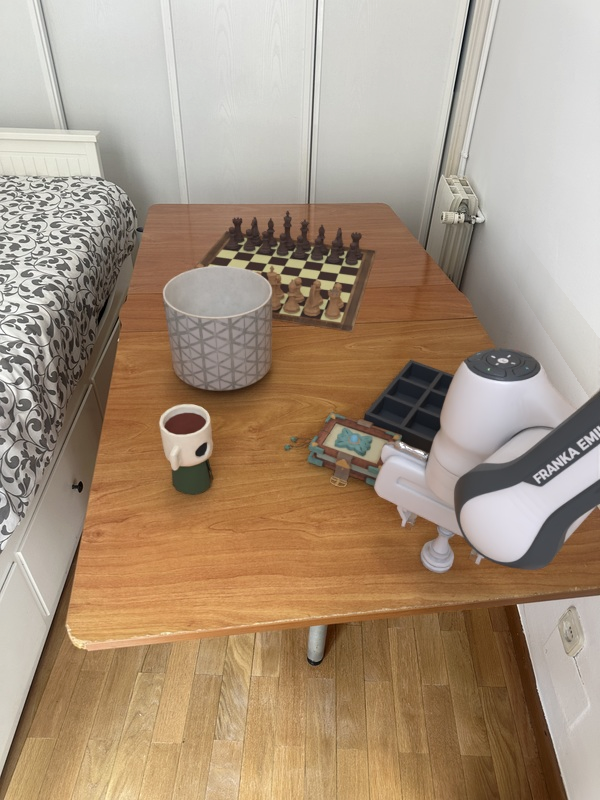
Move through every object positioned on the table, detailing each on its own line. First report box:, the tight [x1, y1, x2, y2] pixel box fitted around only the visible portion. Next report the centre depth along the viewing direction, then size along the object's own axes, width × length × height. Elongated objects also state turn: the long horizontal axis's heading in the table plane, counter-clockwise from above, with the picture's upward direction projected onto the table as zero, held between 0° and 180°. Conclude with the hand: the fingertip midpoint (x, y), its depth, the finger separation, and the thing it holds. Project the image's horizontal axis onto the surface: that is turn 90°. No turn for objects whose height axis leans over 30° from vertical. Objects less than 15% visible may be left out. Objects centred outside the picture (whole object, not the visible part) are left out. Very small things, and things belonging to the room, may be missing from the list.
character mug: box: [158, 403, 214, 496], centre depth 80 cm, size 11×7×13 cm, turn 168°
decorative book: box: [284, 412, 402, 488], centre depth 88 cm, size 13×18×5 cm
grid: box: [363, 359, 455, 454], centre depth 96 cm, size 20×20×4 cm
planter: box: [162, 266, 273, 392], centre depth 100 cm, size 19×19×18 cm
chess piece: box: [419, 525, 456, 574], centre depth 71 cm, size 4×4×10 cm
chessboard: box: [162, 210, 377, 333], centre depth 136 cm, size 45×45×10 cm
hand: (440, 541), depth 72 cm, fingers open, 8 cm apart
